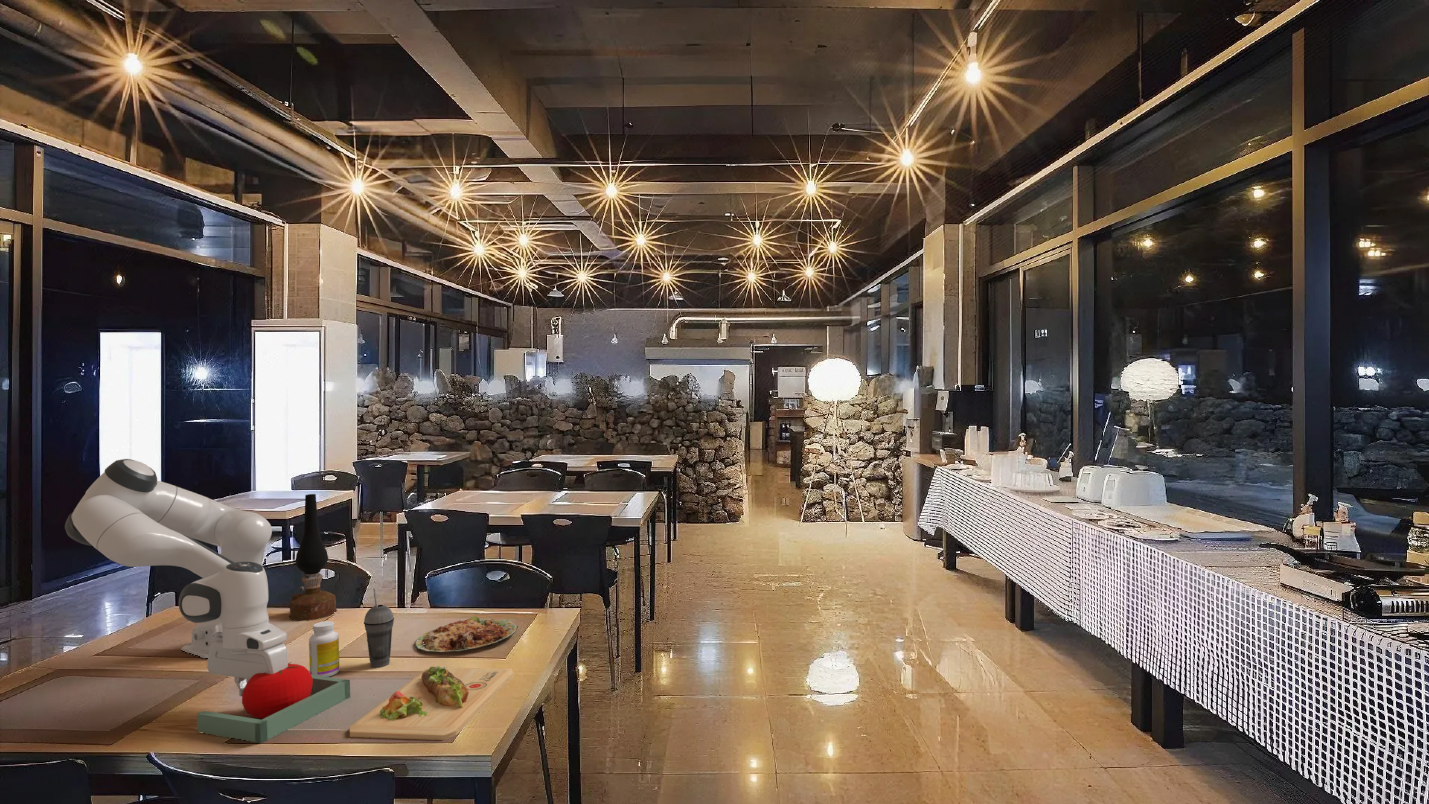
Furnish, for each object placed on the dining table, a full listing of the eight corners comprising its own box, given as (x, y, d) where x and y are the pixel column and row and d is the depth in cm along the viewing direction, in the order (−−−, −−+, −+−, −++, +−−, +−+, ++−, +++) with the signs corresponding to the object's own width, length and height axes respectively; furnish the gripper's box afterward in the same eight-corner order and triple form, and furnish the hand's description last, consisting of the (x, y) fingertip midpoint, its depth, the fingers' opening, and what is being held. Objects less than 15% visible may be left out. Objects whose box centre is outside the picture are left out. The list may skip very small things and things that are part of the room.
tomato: (282, 729, 150) (281, 680, 150) (227, 726, 151) (226, 678, 151) (327, 700, 164) (326, 655, 164) (276, 698, 166) (275, 653, 166)
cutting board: (451, 743, 144) (450, 706, 144) (343, 739, 146) (342, 703, 146) (517, 675, 179) (516, 645, 178) (428, 673, 181) (428, 644, 181)
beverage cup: (383, 670, 182) (381, 592, 181) (358, 668, 183) (356, 591, 183) (401, 660, 189) (399, 585, 189) (377, 658, 190) (375, 584, 190)
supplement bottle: (345, 670, 182) (344, 620, 182) (323, 680, 176) (322, 629, 176) (325, 667, 184) (324, 618, 184) (303, 677, 178) (302, 626, 178)
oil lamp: (344, 620, 235) (370, 500, 239) (303, 626, 221) (332, 499, 225) (314, 611, 240) (340, 494, 244) (273, 616, 226) (301, 492, 230)
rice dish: (393, 654, 197) (392, 635, 197) (461, 620, 223) (460, 603, 223) (475, 666, 187) (474, 646, 187) (536, 629, 213) (535, 611, 213)
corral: (197, 732, 149) (197, 713, 149) (292, 688, 171) (292, 672, 171) (260, 743, 144) (260, 723, 144) (350, 696, 166) (349, 679, 166)
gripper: (198, 635, 160) (199, 696, 160) (267, 643, 154) (268, 706, 154) (225, 626, 166) (226, 685, 166) (292, 634, 160) (294, 695, 160)
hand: (247, 695), depth 160 cm, fingers closed
